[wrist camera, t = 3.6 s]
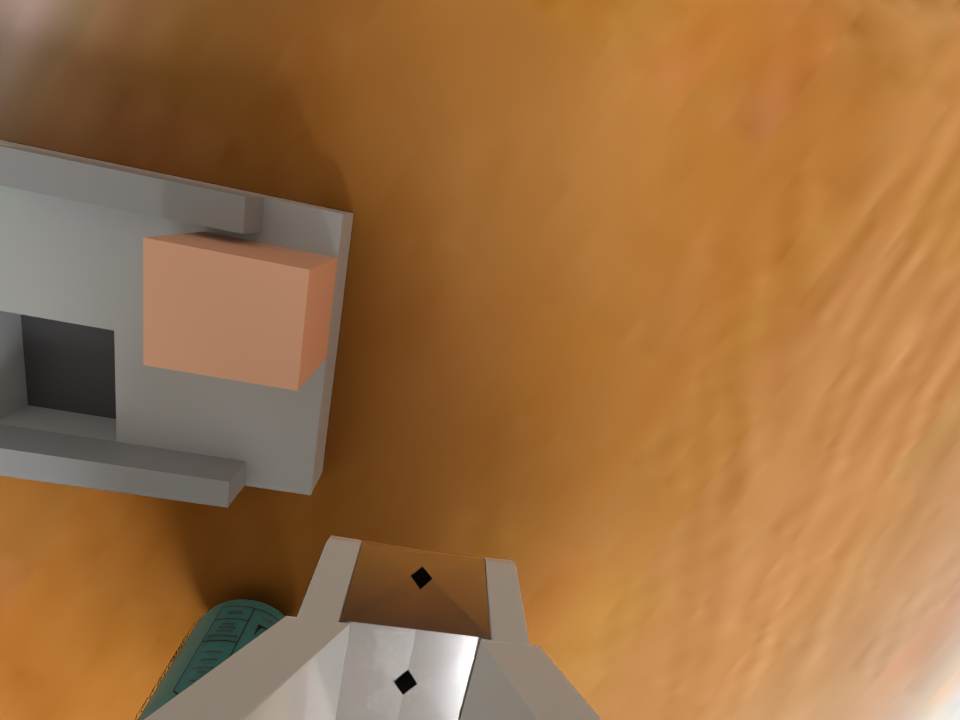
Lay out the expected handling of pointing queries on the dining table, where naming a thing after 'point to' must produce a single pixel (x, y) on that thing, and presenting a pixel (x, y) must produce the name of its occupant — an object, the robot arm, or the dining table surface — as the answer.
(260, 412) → the tray
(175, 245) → the block
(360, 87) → the dining table surface
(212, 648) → the beverage bottle
